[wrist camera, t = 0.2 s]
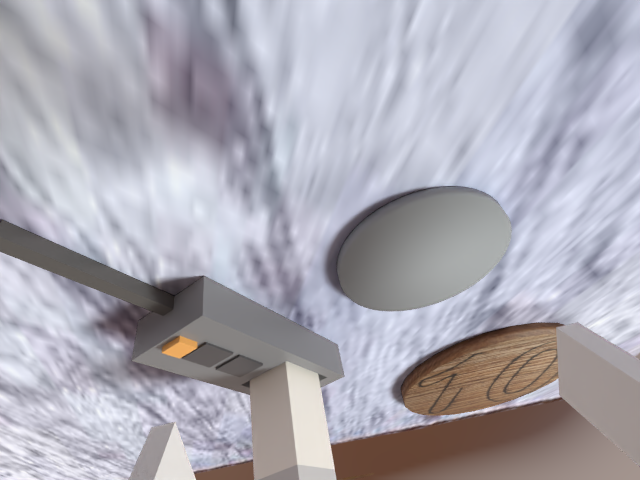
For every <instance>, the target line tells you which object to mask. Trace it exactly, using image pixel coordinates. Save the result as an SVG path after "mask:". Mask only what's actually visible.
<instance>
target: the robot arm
mask: <svg viewBox="0 0 640 480" xmlns="http://www.w3.org/2000/svg"><path fill="white" fill-rule="evenodd" d="M556 332H557V354H558V376H559V395H560V396H561V397H562V398H563V399H564V400H565V401H567V402H568V403H569V404H570V405H571V406H572V407H573V408H574V409H576V410H577V411H578V412H579V413H580V414H581V415H582V416H583V417H584V418H586V419H587V420H588V421H589V422H590V423H591V424H592V425H593V426H594V427H596V428H597V429H598V430H599V431H600V432H601V433H602V434H603V435H605V436H606V437H607V438H608V439H609V440H610V441H611V442H612V443H614V444H615V445H616V446H617V447H618V448H619V449H620V450H622V452H624V453H625V454H626V455H627V456H628V457H629V458H630V459H631V460H632V461H634V462H635V463H636V464H637V465H638V466H639V467H640V360H639V359H638V358H636V357H634V356H633V355H631V354H629V353H628V352H626V351H624V350H623V349H621V348H619V347H618V346H616V345H614V344H613V343H611V342H609V341H608V340H606V339H604V338H603V337H601V336H599V335H598V334H596V333H594V332H593V331H591V330H589V329H588V328H586V327H584V326H583V325H581V324H579V323H578V322H576V323H572V324H568V325H564V326H560V327H556ZM129 480H196V479H195V476H194V473H193V470H192V467H191V464H190V462H189V459H188V456H187V453H186V451H185V448H184V445H183V442H182V440H181V437H180V434H179V431H178V429H177V426H176V423H175V422H172V423H168V424H164V425H160V426H156V427H152V428H151V430H150V432H149V435H148V437H147V439H146V441H145V444H144V446H143V448H142V451H141V453H140V455H139V457H138V460H137V462H136V464H135V467H134V469H133V471H132V473H131V476H130V478H129Z"/></svg>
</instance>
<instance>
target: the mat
mask: <svg viewBox="0 0 640 480" xmlns="http://www.w3.org/2000/svg"><path fill="white" fill-rule="evenodd" d="M511 231H512V230H511V223H510V220H509V218H508V216H507V215H506V213H505V212H504V210H503V209H502V208H501V206H500V205H499V203H498V202H497V201H496V200H495V199H494V198H493V197H491V196H490V195H488V194H486V193H484V192H482V191H479V190H476V189H472V188H467V187H456V186H450V187H438V188H431V189H426V190H422V191H418V192H414V193H412V194H409V195H406V196H403V197H401V198H399V199H396V200H394V201H392V202H390V203H388V204H386V205H385V206H383V207H381V208H379V209H378V210H376V211H375V212H373V213H372V214H371V215H369V216H368V217H367V218H365V219H364V220H363V221H362V222H361V223H360V224H359V225H358V226H357V227H356V228H355V229H354V230H353V231H352V232H351V233H350V235H349V236H348V237H347V239H346V240H345V242H344V244H343V245H342V247H341V249H340V252H339V255H338V259H337V273H338V277H339V281H340V285H341V288H342V290H343V292H344V293H345V294H346V296H347V297H348V298H349V299H351V300H352V301H353V302H355V303H357V304H358V305H360V306H363V307H366V308H369V309H373V310H379V311H404V310H412V309H417V308H422V307H426V306H429V305H433V304H436V303H439V302H441V301H444V300H446V299H449V298H451V297H453V296H455V295H457V294H459V293H461V292H463V291H465V290H466V289H468V288H469V287H471V286H473V285H474V284H475V283H477V282H478V281H480V280H481V279H482V278H483V277H484V276H486V275H487V274H488V273H489V272H490V271H491V270H492V269H493V268H494V267H495V266H496V265H497V263H498V262H499V261H500V260H501V258H502V257H503V255H504V254H505V252H506V250H507V248H508V246H509V243H510V239H511Z"/></svg>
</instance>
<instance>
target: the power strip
mask: <svg viewBox="0 0 640 480" xmlns="http://www.w3.org/2000/svg"><path fill="white" fill-rule="evenodd" d="M0 252H2V253H5V254H7V255H10V256H12V257H15V258H18V259H20V260H23V261H25V262H28V263H30V264H33V265H35V266H38V267H40V268H43V269H45V270H48V271H51V272H53V273H56V274H58V275H61V276H63V277H66V278H68V279H71V280H73V281H76V282H78V283H81V284H83V285H86V286H89V287H91V288H94V289H96V290H99V291H101V292H104V293H106V294H109V295H111V296H114V297H116V298H119V299H122V300H124V301H127V302H129V303H132V304H134V305H137V306H139V307H142V308H144V309H147V310H149V311H152V312H151V313H150V314H148V315H147V316H145V317H144V318H142V319H141V320H139V321H138V325H137V331H136V337H135V343H134V349H133V355H132V361H134V362H137V363H141V364H144V365H148V366H151V367H155V368H158V369H162V370H165V371H169V372H172V373H176V374H179V375H183V376H186V377H190V378H193V379H197V380H200V381H203V382H207V383H210V384H214V385H217V386H221V387H224V388H228V389H231V390H235V391H238V392H242V393H245V394H249V395H250V380H251V379H253V378H255V377H257V376H259V375H261V374H263V373H265V372H267V371H269V370H271V369H272V368H274V367H276V366H278V365H280V364H282V363H284V362H286V361H288V362H290V363H293V364H295V365H298V366H300V367H303V368H305V369H308V370H310V371H313V372H315V373H318V376H319V381H320V387H323V386H325V385H327V384H329V383H332V382H334V381H336V380H338V379H340V378H342V377H344V371H343V367H342V362H341V358H340V353H339V349H338V345H337V344H335V343H333V342H331V341H330V340H328V339H326V338H324V337H322V336H320V335H318V334H316V333H314V332H312V331H310V330H308V329H306V328H304V327H302V326H300V325H298V324H297V323H295V322H293V321H291V320H289V319H287V318H285V317H283V316H281V315H279V314H277V313H275V312H273V311H271V310H269V309H267V308H265V307H264V306H262V305H260V304H258V303H256V302H254V301H252V300H250V299H248V298H246V297H244V296H242V295H240V294H238V293H236V292H234V291H233V290H231V289H229V288H227V287H225V286H223V285H221V284H219V283H217V282H215V281H213V280H211V279H209V278H207V277H205V276H203V277H202V278H200V279H199V280H197V281H196V282H195V283H193V284H192V285H190V286H189V287H187V288H186V289H184V290H183V291H181V292H180V293H179V294H177V295H176V296H173V295H171V294H168V293H166V292H164V291H162V290H159V289H157V288H155V287H153V286H150V285H148V284H146V283H144V282H141V281H139V280H137V279H135V278H132V277H130V276H128V275H126V274H123V273H121V272H119V271H117V270H114V269H112V268H110V267H108V266H105V265H103V264H101V263H99V262H96V261H94V260H92V259H89V258H87V257H85V256H83V255H80V254H78V253H76V252H74V251H71V250H69V249H67V248H65V247H62V246H60V245H58V244H56V243H53V242H51V241H49V240H47V239H44V238H42V237H40V236H38V235H35V234H33V233H31V232H29V231H26V230H24V229H22V228H20V227H17V226H15V225H13V224H11V223H8V222H6V221H4V220H2V221H1V222H0Z"/></svg>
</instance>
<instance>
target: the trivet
mask: <svg viewBox="0 0 640 480" xmlns="http://www.w3.org/2000/svg"><path fill="white" fill-rule="evenodd" d="M560 326H564V325H563V324H560V323H530V324H523V325H516V326H510V327H506V328H503V329H499V330H495V331H491V332H487V333H484V334H481V335H478V336H476V337H473V338H470V339H468V340H465V341H462V342H460V343H457V344H455V345H453V346H451V347H449V348H447V349H445V350H443V351H441V352H439V353H437V354H435V355H434V356H432V357H431V358H429V359H428V360H426V361H425V362H423V363H422V364H420V365H419V366H417V367H416V368H415V369H414V370H413V371H412V372H411V373H410V374H409V375H408V376H407V377H406V378H405V380H404V382H403V384H402V386H401V393H402V397H403V401H404V404H405V407H406V408H408V409H409V410H410V411H412V412H414V413H418V414H422V415H437V416H438V415H451V414H459V413H465V412H471V411H476V410H480V409H484V408H488V407H492V406H495V405H498V404H501V403H504V402H508V401H511V400H514V399H516V398H519V397H521V396H524V395H526V394H529V393H531V392H533V391H535V390H537V389H539V388H541V387H543V386H545V385H547V384H549V383H551V382H553V381H555V380H556V379H558V378H559V376H558V354H557V332H556V327H560Z"/></svg>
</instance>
